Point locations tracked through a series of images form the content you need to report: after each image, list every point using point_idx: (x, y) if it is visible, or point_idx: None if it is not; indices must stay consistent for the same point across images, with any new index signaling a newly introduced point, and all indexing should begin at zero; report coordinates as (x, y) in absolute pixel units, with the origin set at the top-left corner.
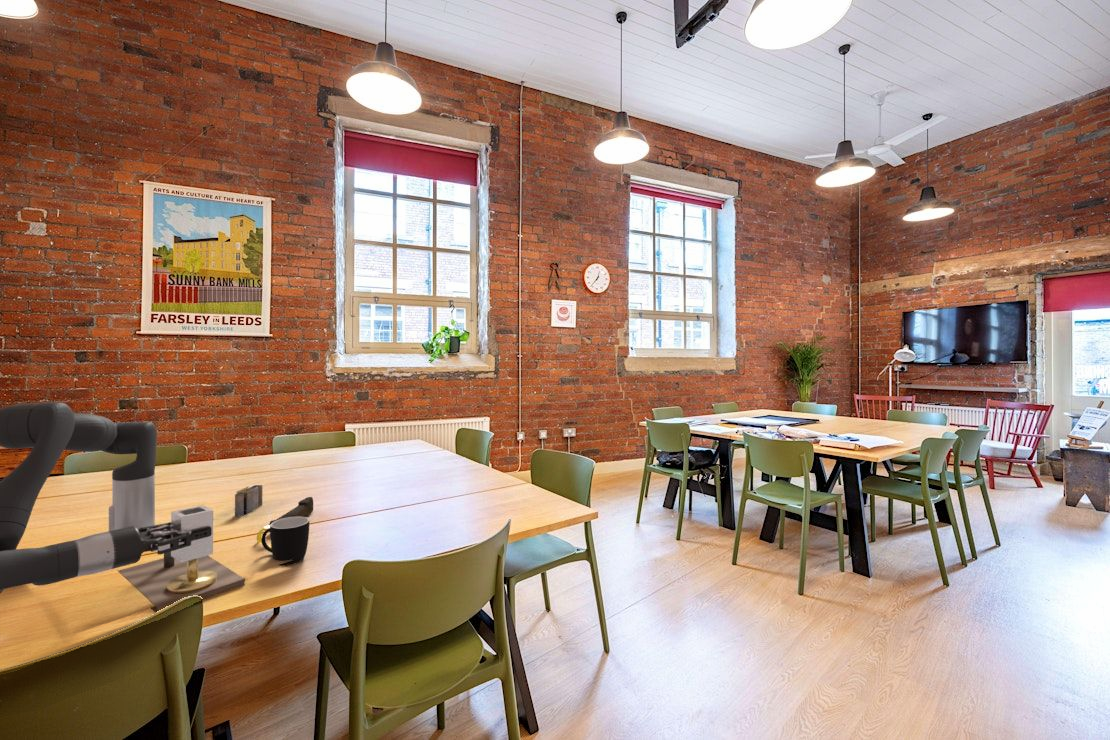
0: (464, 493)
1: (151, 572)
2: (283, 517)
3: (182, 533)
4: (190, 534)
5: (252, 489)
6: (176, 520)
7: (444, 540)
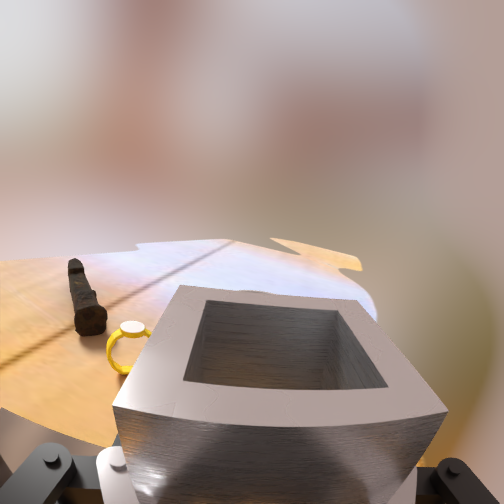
0: (221, 244)
1: None
2: (87, 299)
3: (414, 496)
4: (460, 460)
5: None
6: (300, 471)
7: (344, 295)
